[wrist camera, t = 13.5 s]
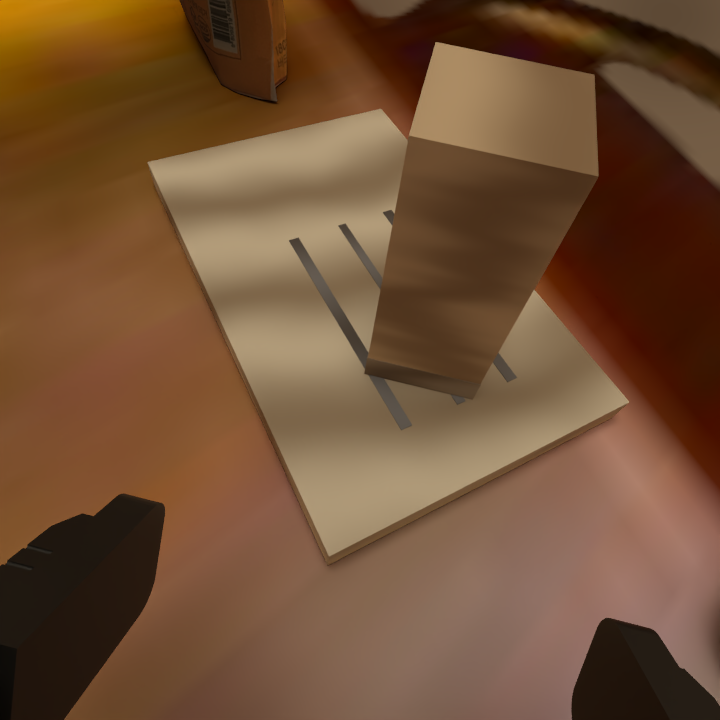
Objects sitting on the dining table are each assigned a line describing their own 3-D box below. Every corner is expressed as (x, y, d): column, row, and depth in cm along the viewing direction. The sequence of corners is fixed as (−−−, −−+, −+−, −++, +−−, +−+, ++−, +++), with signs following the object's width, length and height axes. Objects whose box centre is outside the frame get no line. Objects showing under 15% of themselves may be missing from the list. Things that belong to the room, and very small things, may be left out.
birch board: (154, 185, 29) (147, 161, 27) (378, 131, 33) (381, 108, 32) (327, 565, 19) (328, 556, 18) (611, 417, 23) (630, 401, 22)
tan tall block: (364, 373, 22) (407, 135, 12) (385, 291, 24) (434, 41, 15) (472, 399, 21) (599, 177, 12) (482, 313, 24) (595, 74, 15)
